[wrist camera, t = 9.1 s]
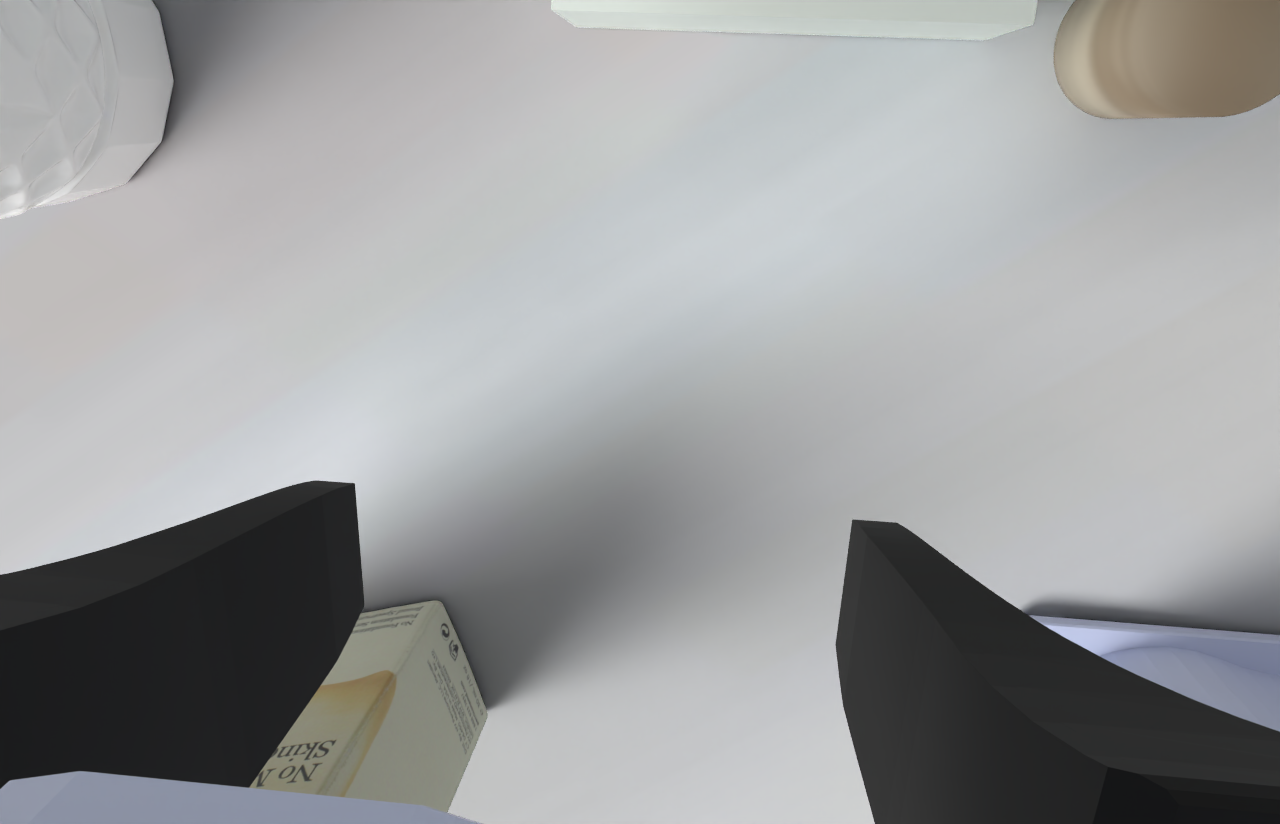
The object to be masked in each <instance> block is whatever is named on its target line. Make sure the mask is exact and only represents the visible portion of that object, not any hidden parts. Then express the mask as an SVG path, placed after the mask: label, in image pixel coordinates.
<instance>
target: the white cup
mask: <svg viewBox="0 0 1280 824" xmlns="http://www.w3.org/2000/svg"><path fill="white" fill-rule="evenodd" d="M173 83H174V79H173V74H172V69H171V65H170V60H169V55H168V51H167V46H166V41H165V36H164V32H163V27H162V22H161V18H160V13H159V11H158V9H157V8H156V6H155V4H154V3H153V1H152V0H0V219H4V218H8V217H12V216H16V215H20V214H22V213H25V212H26V211H28V210H29V209H32V208H37V207H43V206H49V205H55V204H61V203H67V202H72V201H76V200H79V199H82V198H85V197H88V196H91V195H94V194H97V193H100V192H103V191H106V190H110V189H113V188H116V187H119V186H122V185H125V184H126V183H127V182H128V181H129V180H130V179H131V177H132V176H133V175H134V174H135V173H136V172H137V170H138V169H139V168H140V167H141V166H142V164H143V163H144V162H145V161H146V160H147V158H148V157H149V156H150V155H151V154H152V153H153V151H154V150H155V149H156V148H157V147H158V145H159V144H160V143H161V141H162V138H163V133H164V128H165V123H166V118H167V113H168V108H169V103H170V98H171V93H172V88H173Z"/></svg>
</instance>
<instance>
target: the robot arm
mask: <svg viewBox="0 0 1280 824" xmlns="http://www.w3.org/2000/svg"><path fill="white" fill-rule="evenodd" d="M363 607H364V594H363V581H362V569H361V556H360V544H359V531H358V519H357V506H356V493H355V483H342V482H328V481H310V482H304V483H300V484H296V485H292V486H289V487H286V488H282V489H279V490H276V491H273V492H270V493H267V494H264V495H261V496H258V497H256V498H253V499H250V500H247V501H244V502H242V503H239V504H236V505H233V506H231V507H228V508H225V509H222V510H219V511H217V512H214V513H211V514H208V515H206V516H203V517H200V518H197V519H195V520H192V521H189V522H186V523H183V524H180V525H177V526H174V527H171V528H168V529H165V530H162V531H159V532H156V533H153V534H150V535H147V536H144V537H141V538H138V539H135V540H132V541H129V542H126V543H123V544H120V545H116V546H113V547H110V548H106V549H103V550H100V551H96V552H92V553H89V554H85V555H82V556H78V557H74V558H70V559H67V560H63V561H59V562H55V563H51V564H47V565H43V566H39V567H35V568H31V569H26V570H22V571H17V572H13V573H8V574H3V575H0V824H482V823H479V822H475V821H472V820H469V819H466V818H463V817H459V816H456V815H453V814H450V813H447V812H443V811H440V810H437V809H434V808H431V807H427V806H424V805H415V804H405V803H395V802H385V801H375V800H365V799H355V798H345V797H335V796H325V795H315V794H305V793H295V792H285V791H276V790H266V789H256V788H249V787H250V786H251V784H252V783H253V781H254V780H255V779H256V777H257V776H258V774H259V773H260V771H261V770H262V769H263V767H264V766H265V764H266V763H267V762H268V760H269V759H270V757H271V756H272V754H273V753H274V752H275V750H276V749H277V747H278V746H279V744H280V743H281V742H282V740H283V739H284V737H285V736H286V735H287V733H288V732H289V730H290V729H291V727H292V726H293V725H294V723H295V722H296V720H297V719H298V717H299V716H300V715H301V713H302V712H303V710H304V709H305V708H306V706H307V705H308V703H309V702H310V700H311V699H312V697H313V696H314V695H315V693H316V692H317V690H318V689H319V687H320V686H321V684H322V683H323V681H324V680H325V678H326V677H327V676H328V674H329V673H330V671H331V670H332V668H333V667H334V665H335V664H336V662H337V660H338V658H339V657H340V655H341V653H342V651H343V649H344V647H345V645H346V643H347V641H348V639H349V637H350V635H351V633H352V631H353V629H354V627H355V625H356V622H357V620H358V618H359V616H360V614H361V612H362V610H363ZM836 652H837V661H838V669H839V678H840V685H841V693H842V700H843V707H844V710H845V714H846V718H847V722H848V726H849V730H850V733H851V737H852V741H853V745H854V748H855V752H856V756H857V760H858V763H859V767H860V770H861V774H862V778H863V781H864V785H865V789H866V792H867V796H868V800H869V803H870V807H871V811H872V814H873V818H874V822H875V824H1280V635H1272V634H1260V633H1247V632H1234V631H1222V630H1209V629H1197V628H1184V627H1172V626H1159V625H1146V624H1134V623H1121V622H1109V621H1096V620H1084V619H1071V618H1059V617H1046V616H1033V615H1030V616H1029V615H1027V614H1025V613H1024V612H1022V611H1021V610H1019V609H1018V608H1016V607H1015V606H1013V605H1011V604H1010V603H1008V602H1007V601H1005V600H1004V599H1002V598H1001V597H999V596H998V595H997V594H995V593H994V592H992V591H991V590H989V589H988V588H986V587H985V586H984V585H982V584H981V583H979V582H978V581H977V580H975V579H974V578H973V577H971V576H970V575H968V574H967V573H966V572H964V571H963V570H962V569H960V568H959V567H958V566H956V565H955V564H954V563H952V562H951V561H950V560H948V559H947V558H946V557H944V556H943V555H942V554H940V553H939V552H938V551H936V550H935V549H934V548H933V547H931V546H930V545H929V544H927V543H926V542H925V541H923V540H922V539H921V538H919V537H918V536H916V535H915V534H914V533H912V532H911V531H909V530H908V529H906V528H905V527H903V526H901V525H900V524H898V523H892V522H878V521H864V520H852V526H851V534H850V541H849V549H848V556H847V564H846V571H845V579H844V586H843V594H842V601H841V609H840V616H839V624H838V631H837V639H836Z"/></svg>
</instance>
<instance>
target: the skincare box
mask: <svg viewBox="0 0 1280 824" xmlns="http://www.w3.org/2000/svg"><path fill="white" fill-rule="evenodd" d="M486 719H487V710H486V707H485V705H484V703H483V700H482V697H481V694H480V692H479V689H478V686H477V684H476V681H475V678H474V676H473V673H472V670H471V668H470V665H469V663H468V660H467V658H466V655H465V653H464V651H463V648H462V645H461V643H460V641H459V639H458V636H457V634H456V632H455V630H454V627H453V625H452V623H451V621H450V619H449V617H448V614H447V612H446V610H445V608H444V606H443V604H442V603H441V602H440V601H427V602H421V603H415V604H410V605H404V606H398V607H392V608H387V609H382V610H377V611H372V612H366V613H361V614H360V616H359V618H358V620H357V622H356V625H355V627H354V629H353V631H352V633H351V635H350V637H349V639H348V641H347V643H346V645H345V647H344V649H343V651H342V653H341V655H340V657H339V658H338V660H337V662H336V664H335V665H334V667H333V668H332V670H331V671H330V673H329V674H328V676H327V677H326V678H325V680H324V681H323V683H322V684H321V686H320V687H319V689H318V690H317V692H316V693H315V695H314V696H313V697H312V699H311V700H310V702H309V703H308V705H307V706H306V708H305V709H304V710H303V712H302V713H301V715H300V716H299V717H298V719H297V720H296V722H295V723H294V725H293V726H292V727H291V729H290V730H289V732H288V733H287V735H286V736H285V737H284V739H283V740H282V742H281V743H280V744H279V746H278V747H277V749H276V750H275V752H274V753H273V754H272V756H271V757H270V759H269V760H268V762H267V763H266V764H265V766H264V767H263V769H262V770H261V771H260V773H259V774H258V776H257V777H256V779H255V780H254V781H253V783H252V784H251V786H250V787H249V788H256V789H266V790H276V791H285V792H295V793H305V794H315V795H325V796H335V797H345V798H355V799H365V800H375V801H385V802H395V803H405V804H415V805H424V806H427V807H431V808H434V809H437V810H440V811H443V812H448V810H449V807H450V805H451V802H452V800H453V798H454V795H455V793H456V791H457V788H458V786H459V784H460V781H461V779H462V776H463V774H464V772H465V769H466V767H467V765H468V762H469V760H470V757H471V755H472V753H473V750H474V748H475V746H476V743H477V741H478V738H479V736H480V733H481V731H482V729H483V727H484V724H485V722H486Z"/></svg>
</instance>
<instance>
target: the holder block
mask: <svg viewBox="0 0 1280 824" xmlns="http://www.w3.org/2000/svg"><path fill="white" fill-rule="evenodd" d="M1037 3H1038V0H552V6H551V10H552V11H554V12H555V13H556V14H558V15H559V16H561V17H562V18H564V19H565V20H566V21H568V22H569V23H571V24H572V25H574V26H575V27H576V28H608V29H639V30H670V31H701V32H732V33H763V34H794V35H825V36H856V37H888V38H919V39H950V40H981V41H985V40H988V39H991V38H994V37H998V36H1001V35H1004V34H1007V33H1010V32H1013V31H1016V30H1019V29H1022V28H1025V27H1029V26H1032V25H1034V20H1035V15H1036V9H1037Z"/></svg>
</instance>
